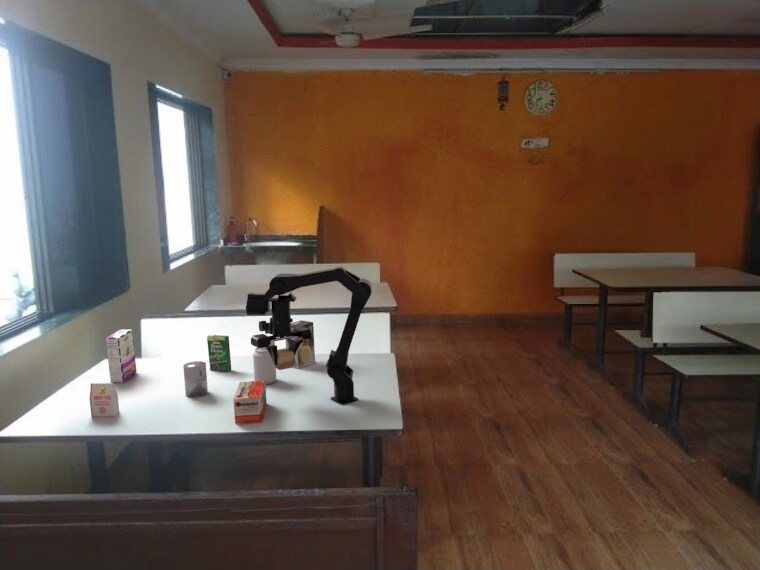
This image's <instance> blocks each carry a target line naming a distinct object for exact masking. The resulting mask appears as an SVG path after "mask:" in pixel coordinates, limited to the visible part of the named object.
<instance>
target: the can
mask: <svg viewBox="0 0 760 570" xmlns="http://www.w3.org/2000/svg"><path fill="white" fill-rule="evenodd" d="M252 358H253V359H252V360H253V378H254V379H253V381H265V385H269V384H272V383H274V382H275V381H276V379H277V368H275V367H273V366H272V359H271V356H270V354H269V352H268V350H267V348H265V347H264V348H257V347H255V349H254V352H253V353H252Z"/></svg>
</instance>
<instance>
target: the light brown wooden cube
mask: <svg viewBox="0 0 760 570" xmlns="http://www.w3.org/2000/svg"><path fill="white" fill-rule="evenodd" d="M272 366H273V367H275V368H276V370H279V371H282V370H287V369H292V367H294V352H293V351H291V350H289V349H287V348H286V347H284V348H280V349H277V365H276V366H275V365H274V364H273V361H272Z"/></svg>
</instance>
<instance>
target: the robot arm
mask: <svg viewBox="0 0 760 570" xmlns="http://www.w3.org/2000/svg"><path fill="white" fill-rule="evenodd" d="M333 282H338V283H340V284H341V285H342V286H343V287H344V288H346V289H347V290H348V291H350V292H351V300H350V308H349V310H348V315H347V318H346V319H345V320H346V321H345V323H344V324H345V325H344V327H343V331H342V333H341V337H340V339H339V343H338V344H337V345H338V346H337V348H335V349H336V350H333V349H331V350H330V353H329V357H328V360H327V361H326V365H325V368H326V373H327V375H328V377H329V378H330V379H331V380H332V381H333V392H334V396H331V397H330V400H331V401H334V402H335V403H337V404H340V405H346V404H348V403H351V402H356V401H358V400H359V397H356V396H355V389H354V388H355V386H354V385H355V384H354V380H353V377H354V371H355V370H353V369H352V368H351V367H350V366H349V365H348V360H349V351H350V348H351V345H352V342H353V339H354V336H355V333H356V330H357V326H358V323H359V320H360V317H361V314H362V312H363V310H364V308H365V306H366V305H367V303H368V302H369V301H368V300H370V298H371V295H372V291H373V286H372V283H371V282H370V281H369V280H368V279H366V278H360V277H359V276H357V275H355V274H354V273H352V272H351V271H349V270H347V269H346V268H344V267H343V266H336V267H334V268H327V269H323V270H316V271H311V272H305V273H278V274H276V275H275V276H274V277H272V278H271V280H270V281H269V286H268V287H269V288H268V289H267V290H266V292H264V293H254V292H249V293H248V294H247V299H246V305H245V312H246V315H247V316H267V314H268V313H270V312H271V317H270V318H269V322H267V321H266V320H261V321H258V330H259V332H264V333H260V334H254V335H252V336H251V338H250V345H251V346H253V347H255V348H264V347H265V348H267V350H268V352H269V354H270V356H271V359H272V361H273V364H274V365H275V366H276V365H277V350H278V345H276V343H275V342H278V341H283V340H286V339H287V341H288V344H289V350H291V351H293V352H294V356H295V354H296V351H297V349H298V348H299V346H300V344H301V343H303V340H301V337H302V338H303V339H304V340H305V339H311V338H312V331H311V330H310V329H308V328H305V327H298V328H294V329H293V331H291V323H294V321H293V320H294V319H293V318H292V317H291V316H292V315H291V303H292V302H293V303H294V302H296V300H297V296H295V295H294V294H293V293H292V292H293V291H295V290H298V289H300V288H305V287H310V286H316V285H321V284H329V283H333ZM287 293H288V294H287ZM285 294H286V295H285ZM276 296H277V297H276ZM268 334H269V335H268Z"/></svg>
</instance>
